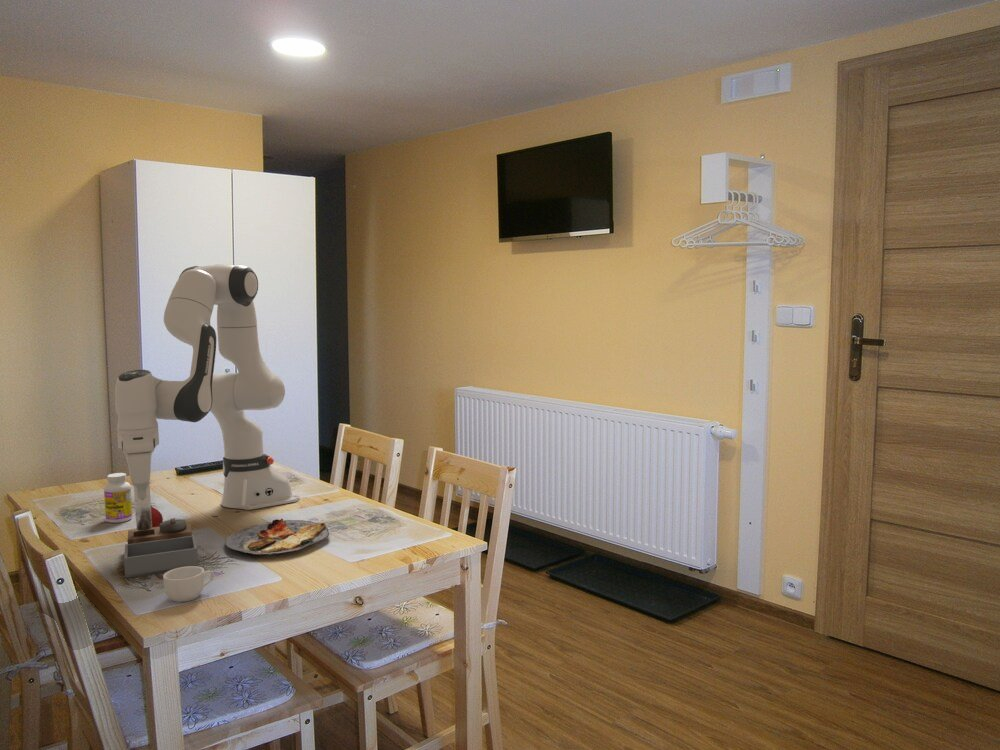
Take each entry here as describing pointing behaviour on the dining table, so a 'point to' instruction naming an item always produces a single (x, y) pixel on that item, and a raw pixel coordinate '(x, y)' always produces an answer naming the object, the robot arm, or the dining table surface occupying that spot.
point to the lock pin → (143, 510)
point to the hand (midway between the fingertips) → (142, 495)
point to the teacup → (185, 583)
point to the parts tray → (159, 556)
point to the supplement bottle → (117, 499)
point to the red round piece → (156, 517)
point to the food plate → (278, 536)
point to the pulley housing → (161, 531)
